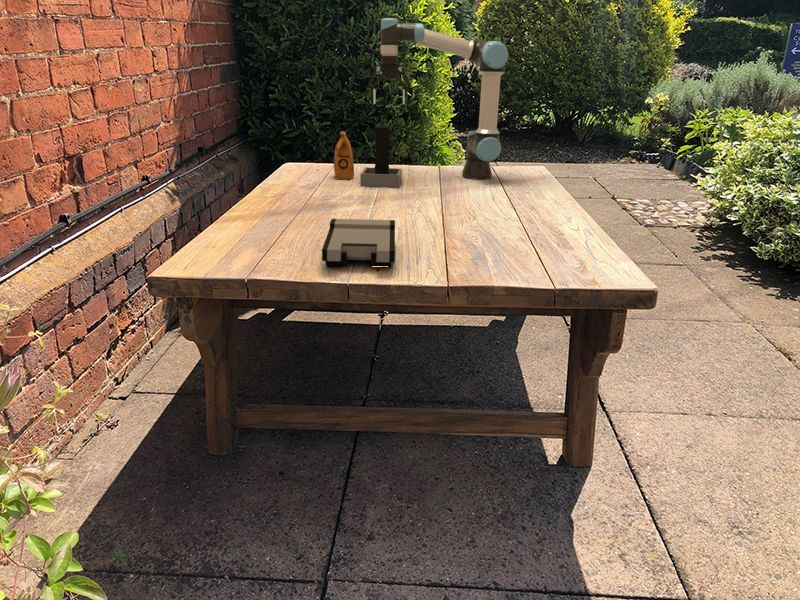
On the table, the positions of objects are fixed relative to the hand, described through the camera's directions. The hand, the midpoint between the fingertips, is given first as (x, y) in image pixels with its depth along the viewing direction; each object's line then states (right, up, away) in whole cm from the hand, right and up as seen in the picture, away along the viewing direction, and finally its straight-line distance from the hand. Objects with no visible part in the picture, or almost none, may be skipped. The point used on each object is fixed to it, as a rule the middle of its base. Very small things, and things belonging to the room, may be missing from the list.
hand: (389, 104), depth 313 cm
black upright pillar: (-4, -35, +9) cm, 36 cm away
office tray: (-7, -78, -103) cm, 129 cm away
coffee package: (-23, -30, +22) cm, 44 cm away
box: (-4, -35, +9) cm, 37 cm away
